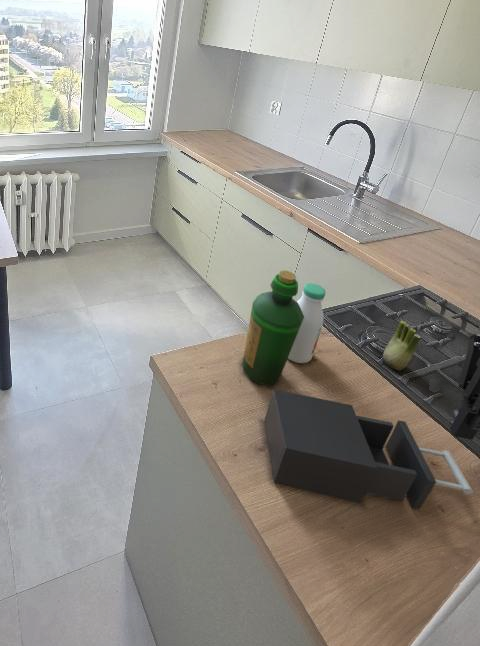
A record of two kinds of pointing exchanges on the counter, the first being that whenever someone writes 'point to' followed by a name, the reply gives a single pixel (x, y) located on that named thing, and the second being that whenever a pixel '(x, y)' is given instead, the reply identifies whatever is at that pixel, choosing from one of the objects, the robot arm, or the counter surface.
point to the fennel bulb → (401, 347)
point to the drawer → (404, 464)
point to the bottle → (272, 330)
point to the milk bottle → (308, 323)
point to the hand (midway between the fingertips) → (460, 433)
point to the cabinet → (318, 446)
